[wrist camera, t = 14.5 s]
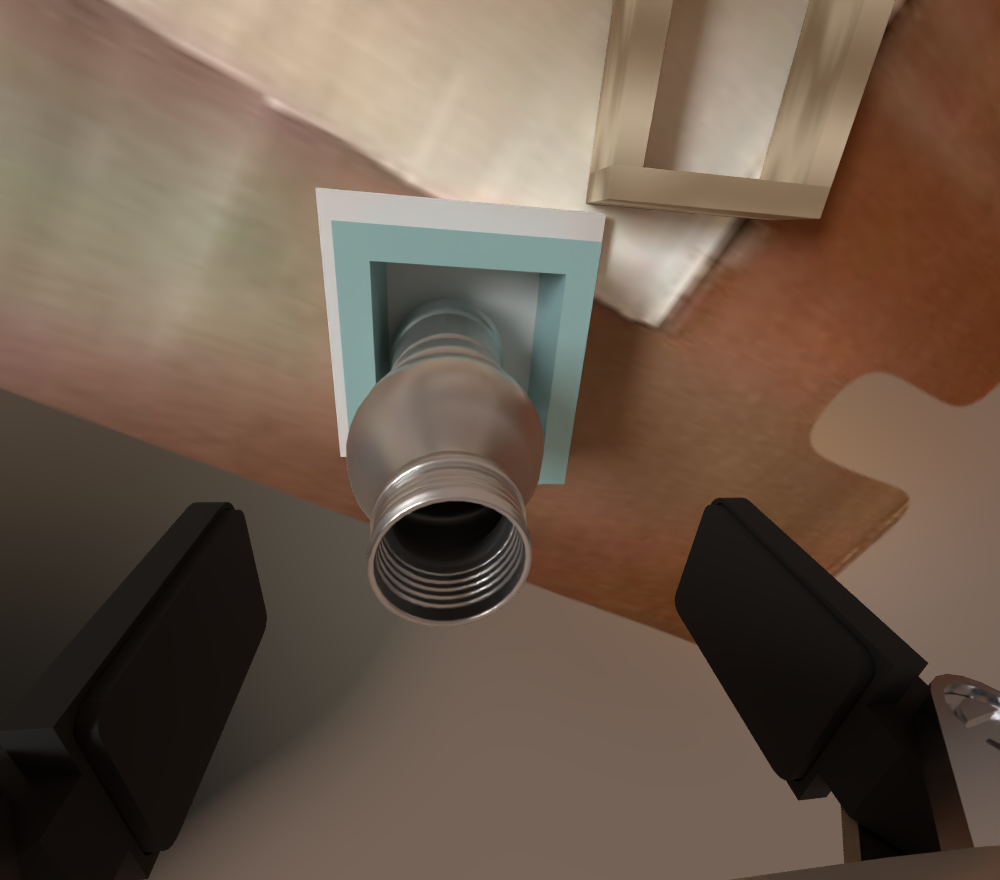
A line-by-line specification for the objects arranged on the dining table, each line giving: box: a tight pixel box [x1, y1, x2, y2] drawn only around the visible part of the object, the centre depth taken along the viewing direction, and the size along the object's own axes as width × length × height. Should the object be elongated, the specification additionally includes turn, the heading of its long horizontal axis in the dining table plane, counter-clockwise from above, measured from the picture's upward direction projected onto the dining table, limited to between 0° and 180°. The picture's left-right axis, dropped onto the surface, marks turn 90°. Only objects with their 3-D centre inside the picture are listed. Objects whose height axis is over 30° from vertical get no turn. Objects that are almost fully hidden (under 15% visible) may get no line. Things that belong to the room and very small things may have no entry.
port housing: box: [315, 188, 606, 484], centre depth 25 cm, size 16×16×7 cm
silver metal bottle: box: [346, 298, 544, 627], centre depth 18 cm, size 6×7×20 cm
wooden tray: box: [586, 0, 895, 220], centre depth 22 cm, size 13×12×4 cm
